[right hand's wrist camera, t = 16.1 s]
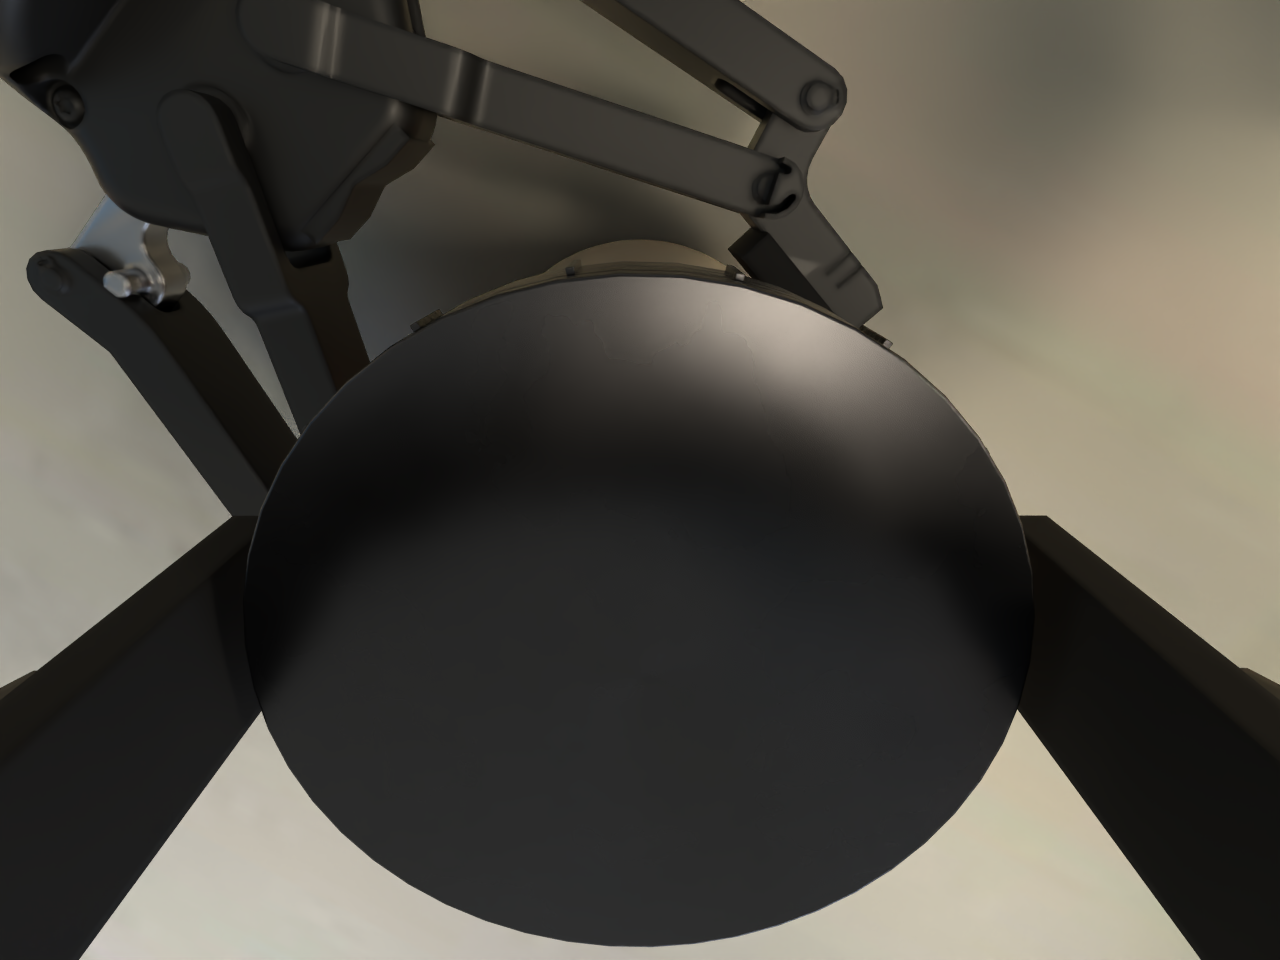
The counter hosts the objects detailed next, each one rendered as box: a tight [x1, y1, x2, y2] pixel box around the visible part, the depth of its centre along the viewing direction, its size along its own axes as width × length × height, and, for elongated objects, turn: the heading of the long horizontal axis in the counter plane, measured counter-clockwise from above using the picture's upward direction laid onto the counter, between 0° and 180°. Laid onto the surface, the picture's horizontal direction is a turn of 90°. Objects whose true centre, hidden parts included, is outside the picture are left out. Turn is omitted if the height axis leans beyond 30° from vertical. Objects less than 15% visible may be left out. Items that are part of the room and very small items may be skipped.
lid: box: [243, 259, 1035, 947], centre depth 11 cm, size 11×11×2 cm
